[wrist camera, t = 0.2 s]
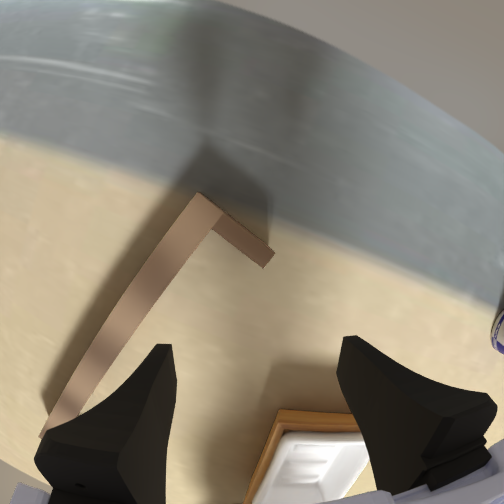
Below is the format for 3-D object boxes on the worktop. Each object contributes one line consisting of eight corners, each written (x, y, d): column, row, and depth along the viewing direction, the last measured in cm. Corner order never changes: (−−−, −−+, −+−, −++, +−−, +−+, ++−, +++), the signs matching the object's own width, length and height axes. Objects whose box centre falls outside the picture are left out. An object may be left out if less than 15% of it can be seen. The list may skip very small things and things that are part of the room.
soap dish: (270, 395, 25) (280, 433, 20) (369, 402, 27) (391, 433, 22) (238, 482, 27) (242, 518, 22) (324, 484, 28) (336, 516, 23)
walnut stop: (99, 452, 25) (91, 472, 22) (49, 419, 24) (38, 436, 21) (268, 245, 23) (275, 253, 20) (200, 192, 22) (197, 192, 19)
